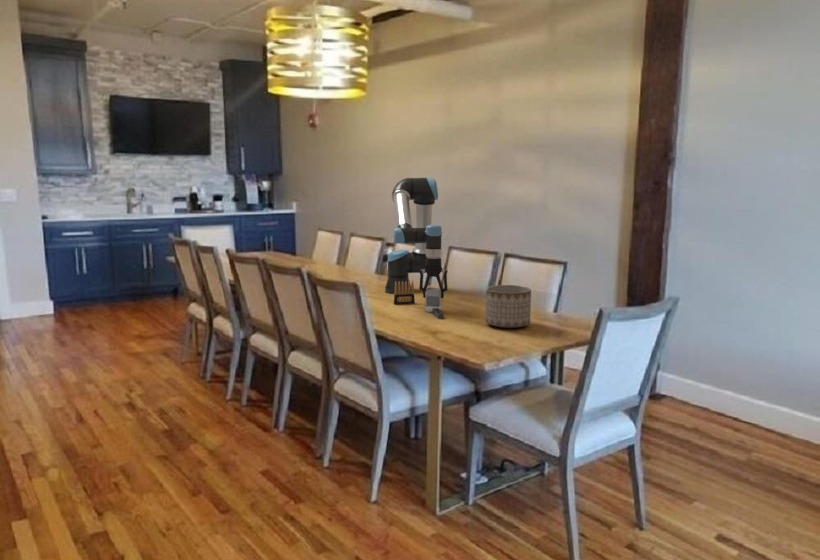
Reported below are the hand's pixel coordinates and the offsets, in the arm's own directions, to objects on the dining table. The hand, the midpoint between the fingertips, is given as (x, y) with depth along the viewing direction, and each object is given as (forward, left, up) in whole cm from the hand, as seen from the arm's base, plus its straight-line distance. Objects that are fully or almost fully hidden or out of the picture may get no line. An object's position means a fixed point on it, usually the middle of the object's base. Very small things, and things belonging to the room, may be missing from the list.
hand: (433, 304), depth 300 cm
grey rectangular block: (0, 0, 0) cm, 0 cm away
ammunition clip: (-15, -17, -3) cm, 23 cm away
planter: (+23, +36, -3) cm, 43 cm away
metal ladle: (+6, +2, -3) cm, 7 cm away
